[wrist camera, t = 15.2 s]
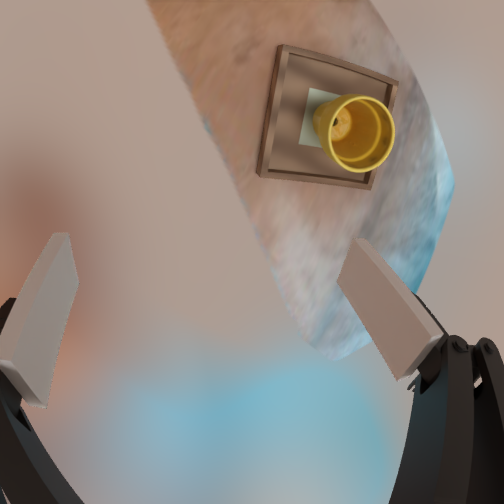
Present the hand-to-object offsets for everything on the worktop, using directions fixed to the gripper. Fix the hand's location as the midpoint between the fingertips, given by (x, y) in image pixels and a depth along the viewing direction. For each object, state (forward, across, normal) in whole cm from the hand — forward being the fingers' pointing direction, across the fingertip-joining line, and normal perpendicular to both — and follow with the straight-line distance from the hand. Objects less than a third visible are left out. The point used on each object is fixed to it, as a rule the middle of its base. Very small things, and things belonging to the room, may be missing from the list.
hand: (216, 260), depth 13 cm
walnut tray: (+32, +20, +4) cm, 38 cm away
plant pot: (+31, +20, +4) cm, 37 cm away
